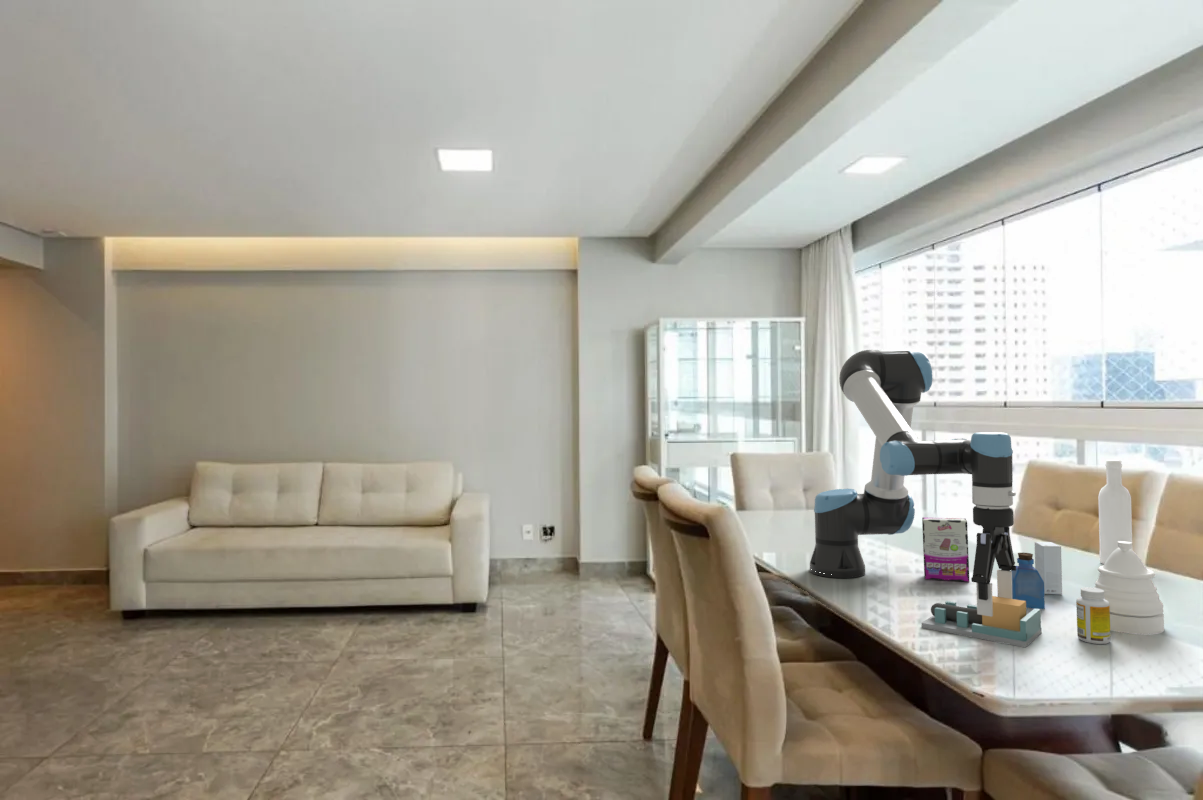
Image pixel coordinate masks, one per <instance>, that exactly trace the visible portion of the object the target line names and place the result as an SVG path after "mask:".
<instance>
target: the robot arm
mask: <svg viewBox="0 0 1203 800" xmlns="http://www.w3.org/2000/svg"><path fill="white" fill-rule="evenodd" d="M933 380H934V379H933V369H932V365H931V363H930V360H929V358H928V356H927V354H925V352H923V351H922V350H919V349H914V348H911V349H910V348H907V347H906V348H892V349H891V348H889V349H866V350H861V351H857V352H856V353H854V354H852V355H850V357H849V358H848V359H847V360H846V361H845V362H844V364H843V365H842V367H841V370H840V371H839V382H838V383H839V386H840V389H841V392H842V393H843V394H844V396H845V397H846V399H847V400H849V401H850V402H853V403H854V405H855V406H856V408H857V409H858V411H859V412H860V414H861V416H862V417H863V419H864V420H865V421H866V423H867V424H868V426H869V428H870V429H871V431H872V432H873V435H874V436H875V442H874V452H873V459H872V460H873V461H872V467H871V468H872V469H871V476H870V477H871V479H870V481H868V482H867V483H866V484H865V485H864V489H863V493H858V492H857V490H856V489H854V488H843V489H842V488H839V489H838V488H836V489H829V490H825V491H821V492H819V493H817V494H816V496H815V497H814V508H813V512H814V533H815V535H814V536H815V541H814V542H815V546H814V549H813V552H812V555H811V558H810V561H809V572H810V573H811V574H813V575H816V576H820V577H823V578H824V577H825V578H826V577H827V578H833V579H834V578H836V579H849V578H850V579H852V578H853V579H854V578H860V577H863V576H864V575H866V565H865V561H864V559H863V557H862V553H861V550H860V547H859V536H861V535H863V536H864V535H865V536H867V535H868V536H870V535H872V536H873V535H887V536H891V535H895V534H897V535H898V534H903V533H905V532H907V531H909V529H911V527H912V525H913V522H914V520H915V519H914V518H915V516H916V515H915V513H916V510H915V502H914V499H913V497H912V495H910V494H909V490H908V489H907V487H905V486H904V481H905V476H906V477H907V476H919V475H920V476H922V475H923V476H924V475H925V476H926V475H955V474H956V475H957V474H960V475H962V474H964V475H971V481H972V482H971V484H972V485H971V494H972V495H971V497H972V498H971V499H972V504H973V505H974V506H973V507H972V522H973V525H976V526H980V527H982V533H981V532H976V533H977V534H976V546H975V553H974V555H975V557H974V563H973V570H972V577H971V578H970V579H971V580H970V581H971V583H976V606H977V614H979V615H985V616H991V617H992V616H993V601H992V596H993V583H991V579H992V576H993V571H994V565H995V560H996V564H997V567H998V569H997V570H996V579H997V581H996V584H997V585H996V586H997V589H996V591H997V597H1003V598H1009V599H1012V571H1016V566H1017V565H1016V562H1015V556H1014V551H1013V545H1012V541H1011V535H1010V534H1011V533H1010V527H1012V526H1014V524H1015V522H1014V521H1015V519H1014V509H1013V508H1012V507H1011V506H1013V504H1014V497H1015V496H1016V494H1017V493H1016V491H1013V482H1014V481H1013V453H1014V450H1013V449H1012V448H1013V447H1012V439H1011V435H1010V434H1008V433H1006V432H997V431H994V432H993V431H992V432H991V431H989V432H988V431H985V432H984V431H982V432H981V431H980V432H979V431H978V432H973V433H972V435H971V436H970V437H971V438H970V439H967V438H953V439H945V440H943V439H939V440H937V439H936V440H920V438H918V436H917V435H916V433H914V431H913V430H912V428H911V427H912V419H913V411H914V407H915V406H916V405H917V404H918V403H920V402H921V397H922V394H924V393H926V392H929V391H930V390H931V388H932V384H933ZM811 569H812V570H811ZM1011 570H1012V571H1011ZM815 571H816V572H815ZM819 572H821V573H819ZM823 573H825V574H823ZM831 574H832V575H831Z"/></svg>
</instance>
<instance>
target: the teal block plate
mask: <svg viewBox="0 0 1203 800" xmlns="http://www.w3.org/2000/svg"><path fill="white" fill-rule="evenodd" d="M944 604H947V605H953V606H957V602H956V601H955V602H954V601H948V600H946V601H945V602H944ZM966 608H971V609H977V605H976V604H975V605H974V604H967V605H966ZM1041 616H1042V615H1041V609H1036V608H1032V610H1030V612H1028V613H1026V616H1025V617H1024V618H1022V619H1021V620H1020V631H1014V630H1009V629H1003V628H997V627H992V626H986V625H981V624H975V623H973V624H968V613H967V612H961V611H957V621H951V620H946V609H943V608H937V607H936V608H935V617H934V616H933V615H932V616H930V617H929V618H927V619H926V620H924V621H922V622H921V628H922V629H926V630H927V629H929V630H934V631H937V632H942V633H949V634H952V635H953V634H954V635H958V636H959V635H960V636H964V637H969V638H975V639H979V640H980V639H981V640H983V641H990V642H996V643H1001V644H1005V645H1011V646H1017V647H1022V648H1027V647H1028V646H1029V645H1030V644H1031V643H1032V642H1033V641H1034V640H1036V638H1037V637H1039V636H1040V635H1041V634H1042V621H1041V619H1042V618H1041Z"/></svg>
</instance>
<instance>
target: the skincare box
mask: <svg viewBox="0 0 1203 800" xmlns="http://www.w3.org/2000/svg"><path fill="white" fill-rule="evenodd" d="M1034 568H1035V569H1036V570H1037V571H1038V573H1039V574H1040V576H1041V578H1042V580H1043V581H1044V595H1063V575H1062V573H1063V568H1062V546H1060V545H1059V544H1056V543H1054V542H1052V541H1034Z"/></svg>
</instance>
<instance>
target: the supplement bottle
mask: <svg viewBox="0 0 1203 800" xmlns="http://www.w3.org/2000/svg"><path fill="white" fill-rule="evenodd" d="M1104 598H1105V596H1104V590H1102V589H1098V588H1094V587H1090V586H1089V587H1086V586H1085V587H1081V588H1080V596H1079V597H1077V598H1076V602H1075V603H1076V632H1077V633H1076V634H1077V635H1076V636H1077V638H1078V640H1081V641H1083V642H1085V643H1088V644H1094V645H1106V644H1109V643H1110V642H1111V639H1112V638H1111V630H1110V605H1109V602H1108V601H1107V600H1105V599H1104Z"/></svg>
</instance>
